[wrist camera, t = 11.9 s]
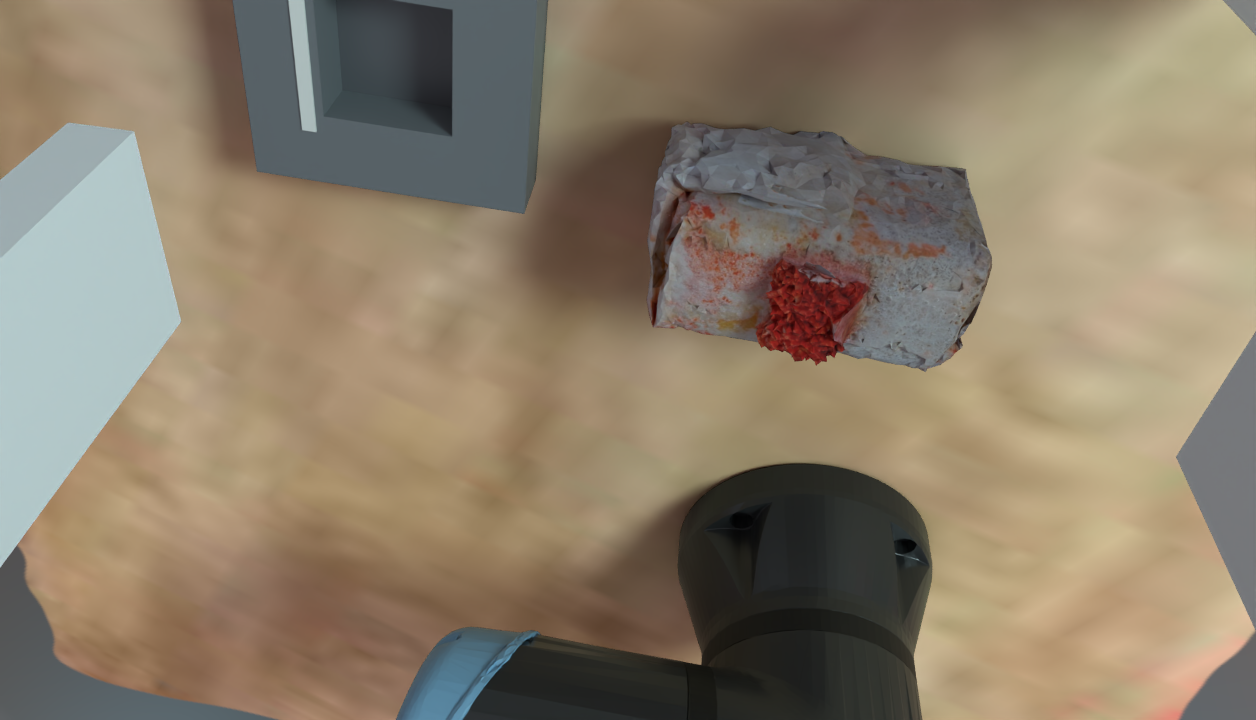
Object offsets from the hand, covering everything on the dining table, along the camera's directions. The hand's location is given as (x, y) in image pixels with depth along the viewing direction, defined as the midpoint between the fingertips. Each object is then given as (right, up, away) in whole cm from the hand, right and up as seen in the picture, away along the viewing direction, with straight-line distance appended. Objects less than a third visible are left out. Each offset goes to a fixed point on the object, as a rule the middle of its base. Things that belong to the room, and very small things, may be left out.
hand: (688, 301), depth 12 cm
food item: (+7, +7, +34) cm, 35 cm away
